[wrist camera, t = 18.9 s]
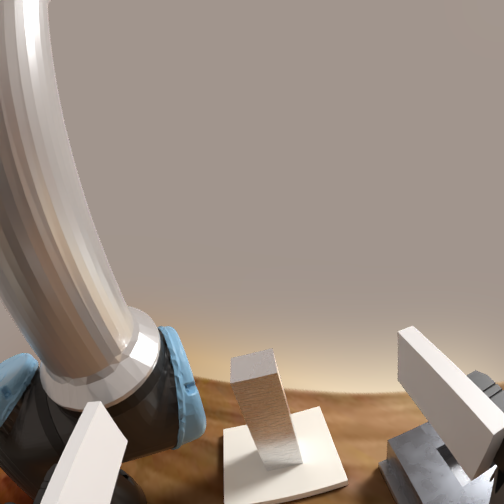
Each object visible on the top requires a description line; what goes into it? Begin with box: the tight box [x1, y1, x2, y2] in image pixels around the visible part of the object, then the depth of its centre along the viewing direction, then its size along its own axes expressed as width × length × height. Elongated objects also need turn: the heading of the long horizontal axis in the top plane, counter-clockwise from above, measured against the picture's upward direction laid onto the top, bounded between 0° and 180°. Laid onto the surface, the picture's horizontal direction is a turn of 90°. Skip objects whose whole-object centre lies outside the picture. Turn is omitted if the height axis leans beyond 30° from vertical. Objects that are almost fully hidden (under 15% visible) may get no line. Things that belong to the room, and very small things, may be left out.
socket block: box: [378, 422, 497, 504], centre depth 17 cm, size 16×20×5 cm
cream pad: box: [224, 406, 348, 504], centre depth 33 cm, size 14×14×1 cm
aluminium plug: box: [230, 349, 303, 471], centre depth 31 cm, size 4×4×15 cm
